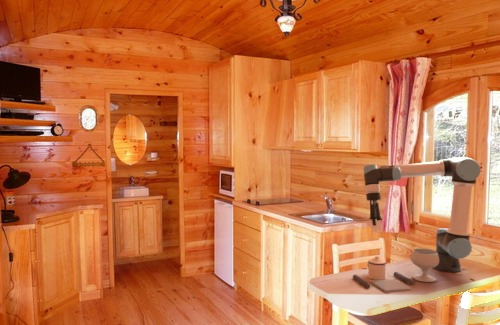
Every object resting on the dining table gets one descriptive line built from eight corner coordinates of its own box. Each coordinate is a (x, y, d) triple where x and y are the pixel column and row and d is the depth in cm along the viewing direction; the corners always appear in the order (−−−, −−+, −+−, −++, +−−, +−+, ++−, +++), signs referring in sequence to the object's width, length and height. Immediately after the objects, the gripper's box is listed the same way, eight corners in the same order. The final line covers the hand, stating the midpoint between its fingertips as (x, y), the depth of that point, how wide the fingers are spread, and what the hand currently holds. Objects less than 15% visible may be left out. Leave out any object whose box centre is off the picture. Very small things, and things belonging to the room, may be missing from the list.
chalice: (406, 279, 220) (406, 251, 219) (415, 273, 231) (416, 246, 230) (433, 285, 211) (434, 256, 210) (442, 278, 221) (443, 251, 220)
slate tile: (394, 280, 217) (394, 278, 217) (410, 290, 204) (410, 288, 204) (370, 282, 214) (370, 280, 214) (385, 292, 201) (385, 290, 201)
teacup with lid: (389, 279, 220) (389, 257, 219) (375, 281, 216) (375, 259, 216) (374, 272, 231) (375, 252, 230) (361, 274, 228) (361, 253, 227)
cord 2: (393, 276, 226) (393, 271, 225) (397, 275, 226) (397, 271, 226) (410, 285, 211) (410, 281, 211) (414, 285, 211) (414, 280, 211)
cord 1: (352, 279, 220) (352, 274, 220) (356, 278, 221) (357, 274, 221) (366, 289, 206) (366, 284, 205) (371, 288, 206) (371, 284, 206)
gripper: (370, 195, 240) (374, 233, 235) (361, 191, 218) (366, 232, 213) (383, 194, 237) (388, 232, 232) (376, 189, 215) (381, 231, 210)
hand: (377, 232), depth 223 cm, fingers open, 13 cm apart
